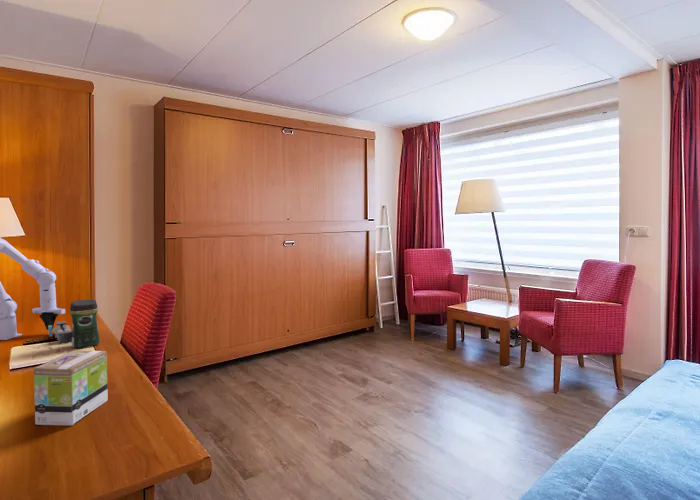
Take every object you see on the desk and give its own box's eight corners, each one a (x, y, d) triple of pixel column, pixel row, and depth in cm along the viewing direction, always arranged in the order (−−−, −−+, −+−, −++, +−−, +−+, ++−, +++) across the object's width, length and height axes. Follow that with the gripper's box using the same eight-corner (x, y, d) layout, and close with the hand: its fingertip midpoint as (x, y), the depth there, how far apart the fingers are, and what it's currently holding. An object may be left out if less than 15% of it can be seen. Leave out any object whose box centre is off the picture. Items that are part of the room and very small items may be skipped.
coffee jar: (99, 341, 177) (97, 297, 176) (100, 345, 171) (98, 300, 169) (71, 345, 172) (69, 299, 170) (71, 350, 165) (69, 303, 164)
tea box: (74, 426, 105) (71, 368, 104) (34, 426, 106) (30, 368, 104) (109, 400, 120) (107, 349, 119) (74, 400, 121) (72, 349, 119)
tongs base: (57, 333, 189) (56, 323, 189) (68, 331, 192) (68, 322, 191) (60, 343, 173) (60, 333, 173) (73, 342, 176) (72, 332, 175)
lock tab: (48, 334, 186) (48, 325, 186) (51, 334, 187) (51, 325, 186) (49, 336, 183) (48, 327, 183) (52, 336, 184) (52, 326, 183)
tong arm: (53, 333, 188) (52, 322, 188) (65, 331, 191) (64, 320, 191) (59, 344, 173) (59, 332, 172) (72, 341, 176) (72, 330, 175)
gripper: (25, 300, 184) (27, 331, 185) (55, 301, 182) (56, 332, 183) (39, 297, 191) (41, 326, 192) (68, 298, 189) (69, 328, 190)
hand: (49, 329), depth 188 cm, fingers closed
